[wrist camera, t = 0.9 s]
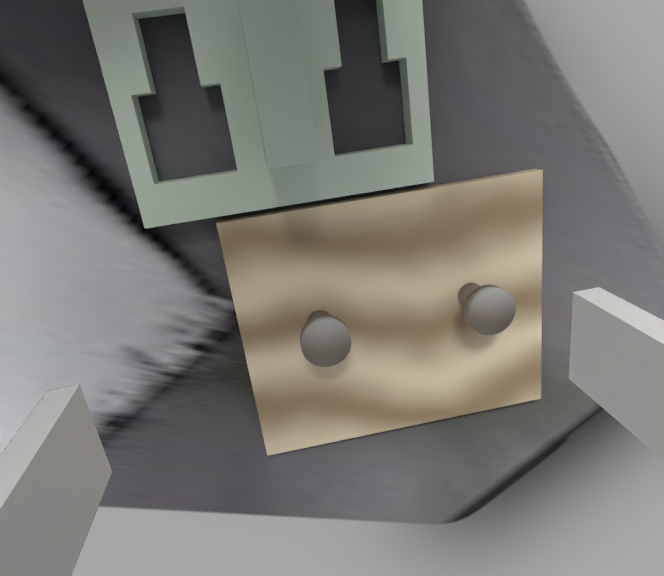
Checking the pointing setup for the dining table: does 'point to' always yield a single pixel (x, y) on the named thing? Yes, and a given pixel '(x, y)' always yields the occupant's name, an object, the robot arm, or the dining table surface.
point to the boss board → (389, 307)
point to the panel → (241, 111)
